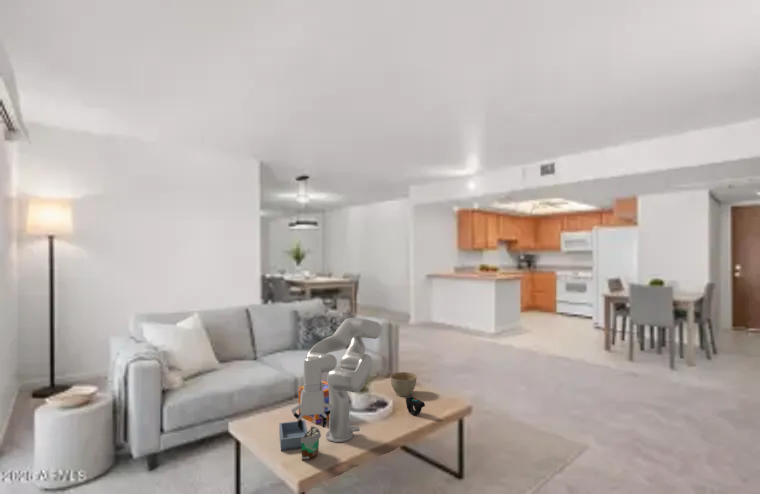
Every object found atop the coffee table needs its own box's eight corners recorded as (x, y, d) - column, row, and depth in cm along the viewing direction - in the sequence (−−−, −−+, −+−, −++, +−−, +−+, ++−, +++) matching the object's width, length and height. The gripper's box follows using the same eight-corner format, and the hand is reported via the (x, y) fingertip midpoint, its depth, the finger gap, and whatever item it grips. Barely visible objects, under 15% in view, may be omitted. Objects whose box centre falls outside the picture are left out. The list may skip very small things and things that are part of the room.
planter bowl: (384, 394, 251) (384, 376, 251) (401, 387, 263) (400, 370, 263) (406, 400, 240) (406, 382, 241) (422, 393, 253) (421, 375, 253)
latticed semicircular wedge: (314, 463, 170) (314, 439, 170) (300, 462, 171) (300, 438, 171) (324, 449, 182) (324, 426, 182) (311, 448, 183) (311, 425, 183)
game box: (340, 415, 219) (340, 386, 219) (316, 424, 208) (315, 393, 208) (322, 408, 230) (322, 379, 230) (298, 416, 219) (298, 386, 219)
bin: (304, 430, 201) (304, 420, 201) (308, 447, 184) (308, 436, 184) (279, 433, 198) (279, 423, 198) (280, 451, 181) (280, 439, 181)
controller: (410, 410, 226) (410, 392, 226) (426, 417, 216) (426, 398, 216) (404, 412, 223) (404, 393, 223) (420, 419, 214) (420, 400, 214)
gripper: (331, 382, 182) (330, 422, 182) (291, 385, 178) (290, 426, 177) (334, 387, 175) (333, 429, 175) (292, 391, 171) (291, 433, 170)
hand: (312, 427), depth 176 cm, fingers open, 9 cm apart
